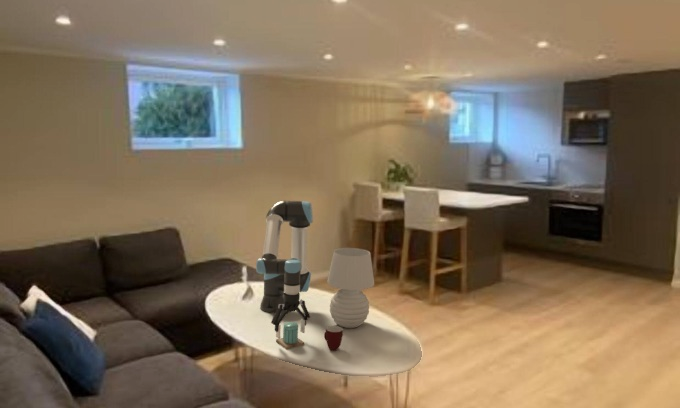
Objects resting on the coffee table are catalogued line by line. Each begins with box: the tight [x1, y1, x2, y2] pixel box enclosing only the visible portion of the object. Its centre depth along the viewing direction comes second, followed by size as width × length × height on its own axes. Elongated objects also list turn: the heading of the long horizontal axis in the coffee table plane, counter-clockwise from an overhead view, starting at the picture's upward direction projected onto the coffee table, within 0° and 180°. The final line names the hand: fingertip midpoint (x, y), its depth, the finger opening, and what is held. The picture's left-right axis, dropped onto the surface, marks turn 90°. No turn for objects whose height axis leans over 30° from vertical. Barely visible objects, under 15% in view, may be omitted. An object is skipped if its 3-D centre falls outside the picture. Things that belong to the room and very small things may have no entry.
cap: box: [282, 322, 299, 344], centre depth 248 cm, size 7×7×8 cm
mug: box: [323, 325, 344, 352], centre depth 245 cm, size 11×8×10 cm
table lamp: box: [326, 247, 375, 329], centre depth 275 cm, size 25×25×40 cm
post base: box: [275, 337, 305, 350], centre depth 249 cm, size 10×10×7 cm
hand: (290, 334), depth 249 cm, fingers open, 13 cm apart
